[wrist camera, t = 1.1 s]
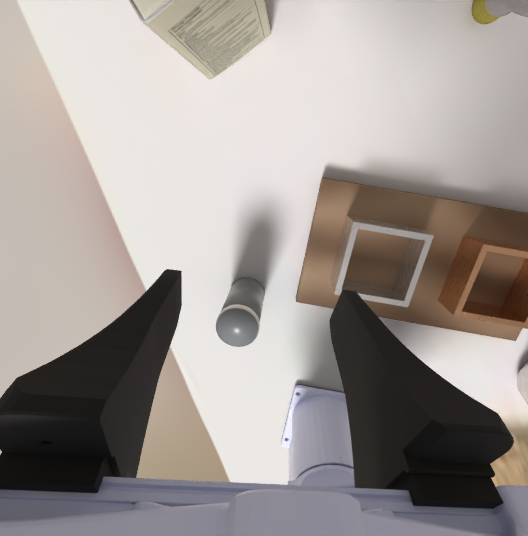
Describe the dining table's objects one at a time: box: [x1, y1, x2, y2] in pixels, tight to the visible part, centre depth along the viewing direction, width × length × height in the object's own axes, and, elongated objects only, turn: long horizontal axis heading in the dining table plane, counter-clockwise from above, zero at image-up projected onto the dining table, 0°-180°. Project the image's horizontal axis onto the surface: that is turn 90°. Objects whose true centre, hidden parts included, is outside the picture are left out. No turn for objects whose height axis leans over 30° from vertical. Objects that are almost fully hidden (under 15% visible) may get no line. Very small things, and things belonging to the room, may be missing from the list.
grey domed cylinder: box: [216, 278, 264, 347], centre depth 29 cm, size 4×4×7 cm
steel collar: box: [330, 215, 434, 307], centre depth 27 cm, size 6×6×3 cm
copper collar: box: [438, 235, 528, 329], centre depth 27 cm, size 6×6×3 cm
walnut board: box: [296, 178, 528, 341], centre depth 29 cm, size 12×22×1 cm, turn 81°
